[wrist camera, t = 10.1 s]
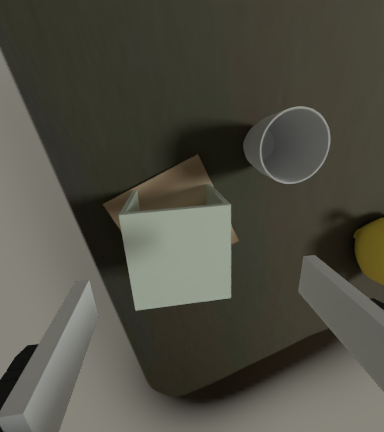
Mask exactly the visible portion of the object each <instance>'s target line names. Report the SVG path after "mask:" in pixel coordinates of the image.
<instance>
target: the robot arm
mask: <svg viewBox="0 0 384 432" xmlns="http://www.w3.org/2000/svg"><path fill="white" fill-rule="evenodd" d="M298 292H299V293H300V294H301V296H302V297H303V298H304V299H305V300H306V301H307V303H308V304H309V305H310V306H311V307H312V308H313V310H314V311H315V312H316V313H317V314H318V315H319V317H320V318H321V319H322V320H323V321H324V322H325V324H326V325H327V326H328V327H329V328H330V329H331V331H332V332H333V333H334V334H335V335H336V337H337V338H338V339H339V340H340V341H341V342H342V343H343V345H344V346H345V347H346V348H347V349H348V350H349V352H350V353H351V354H352V355H353V356H354V358H355V359H356V360H357V361H358V362H359V363H360V365H361V366H362V367H363V368H364V369H365V370H366V372H367V373H368V374H369V375H370V376H371V377H372V379H374V381H375V382H376V383H377V384H378V386H379V387H380V388H381V389H382V390H383V391H384V303H382V302H380V301H378V300H376V299H374V298H372V299H369V298H368V297H366V296H365V295H364V294H363V293H361V292H360V291H359V290H358V289H356V288H355V287H354V286H353V285H351V284H350V283H349V282H348V281H346V280H345V279H344V278H343V277H341V276H340V275H339V274H338V273H336V272H335V271H334V270H333V269H331V268H330V267H329V266H328V265H327V264H325V263H324V262H323V261H322V260H320V259H319V258H318V257H317V256H315V255H311V256H303V263H302V270H301V277H300V283H299V290H298ZM97 319H98V314H97V310H96V306H95V302H94V298H93V294H92V290H91V285H90V281H89V280H84V281H76V282H75V283H74V285H73V287H72V288H71V290H70V291H69V293H68V295H67V297H66V298H65V300H64V302H63V304H62V306H61V307H60V309H59V310H58V312H57V314H56V316H55V317H54V319H53V321H52V323H51V324H50V326H49V328H48V329H47V331H46V333H45V335H44V336H43V338H42V340H41V341H40V343H39V344H36V345H28V346H27V347H25V349H24V350H22V351H21V352H20V353H19V354H18V355H17V356H16V357H15V358H14V360H13V361H12V363H11V364H10V366H9V368H8V369H7V372H6V373H5V374H4V375H3V377H2V378H1V380H0V432H59V430H60V427H61V424H62V421H63V418H64V415H65V412H66V409H67V406H68V404H69V401H70V398H71V395H72V392H73V389H74V386H75V383H76V380H77V377H78V375H79V372H80V369H81V366H82V363H83V360H84V357H85V354H86V351H87V348H88V345H89V342H90V340H91V337H92V334H93V331H94V328H95V325H96V322H97Z"/></svg>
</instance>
